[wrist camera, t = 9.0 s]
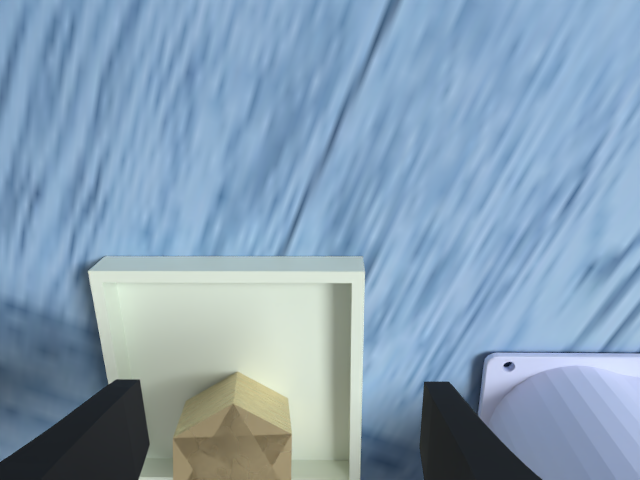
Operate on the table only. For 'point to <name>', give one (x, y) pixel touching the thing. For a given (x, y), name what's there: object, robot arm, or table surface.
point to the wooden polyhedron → (234, 433)
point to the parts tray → (240, 344)
